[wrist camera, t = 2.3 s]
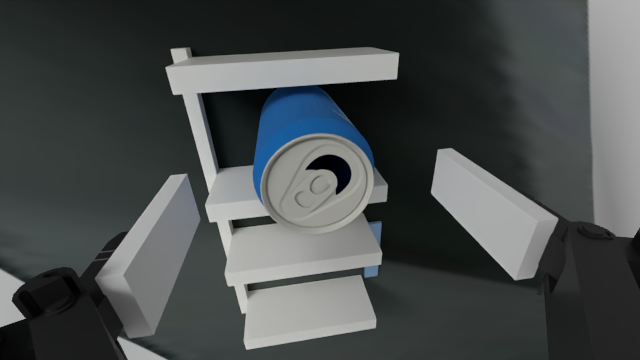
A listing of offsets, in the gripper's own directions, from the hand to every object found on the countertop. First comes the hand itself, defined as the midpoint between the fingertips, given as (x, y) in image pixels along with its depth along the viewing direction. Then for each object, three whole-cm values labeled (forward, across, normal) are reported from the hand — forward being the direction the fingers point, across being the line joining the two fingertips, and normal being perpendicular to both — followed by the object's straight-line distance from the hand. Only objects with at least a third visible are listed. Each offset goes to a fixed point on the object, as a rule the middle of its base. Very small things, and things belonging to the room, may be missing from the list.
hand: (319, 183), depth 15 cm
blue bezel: (+11, +7, -16) cm, 20 cm away
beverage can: (+11, 0, 0) cm, 11 cm away
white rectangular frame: (+11, -2, -7) cm, 13 cm away
